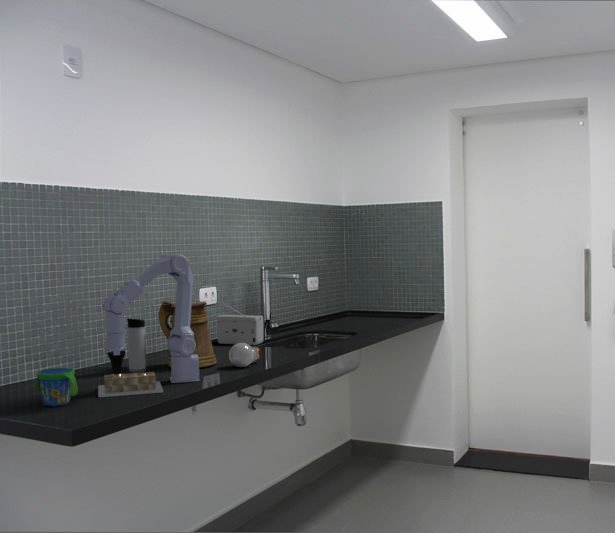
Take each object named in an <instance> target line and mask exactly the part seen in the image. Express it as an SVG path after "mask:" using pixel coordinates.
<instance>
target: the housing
mask: <svg viewBox="0 0 615 533" xmlns="http://www.w3.org/2000/svg"><path fill="white" fill-rule="evenodd" d="M141 373H146V374H147V375H141V376H138V374H141ZM121 375H122V377H113V374H104V376H103V378H104V379H103V380H104V383H103V385H105V392H106V391H119V390H132V389H145V388H156V377H157V376H156V374H155V371H147V372H146V371H144V372H139V373H132V372H129V373H121Z"/></svg>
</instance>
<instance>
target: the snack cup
mask: <svg viewBox="0 0 615 533" xmlns="http://www.w3.org/2000/svg"><path fill="white" fill-rule="evenodd" d="M75 372H76V371H75V369H73V368H70V367H56V368H55V367H54V368H53V367H52V368H45V369H41V370H40V371H37V374H36V376H37V377H36V381H35V390H36V391H37V392H41V397H42V402H43V403H42V404H43V405H44V406H48V407H62V406H63V407H64V406H67V405H68V404H69V403H70V401H71V397H74V396H76V395H77V394H78V391H79V387H78V384H77V379H76V377H75V375H76V374H75Z"/></svg>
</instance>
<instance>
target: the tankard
mask: <svg viewBox="0 0 615 533" xmlns="http://www.w3.org/2000/svg"><path fill="white" fill-rule="evenodd" d="M207 305H208V304H207V302H206V301H194V302H193V301H192V305H191V320H190V328H191V330H192V331H193V333H194V340H195V343H196V347H195V350H194V352H193V355H194V354H197V355H198V359H199V368H204V367H209V366H213V365H216V363H217V357H216V354H215V353H214V347H213V344H212V338H211V334H210V328H209V322H208V321H209V315H208V314H209V313H208V312H207V310H206V307H205V306H207ZM175 307H176V302H172V301H166V300H162V302H161V304H160V307H159V310H158V323H159V326H160V328H161V330H162V333H163V334H164V336H165V338H166V339H167V341H168V339H169V337H170V331H171V330H172V329H173V328H174V322H175ZM169 318H170V321H169ZM169 323H170V324H171V326H170V324H169ZM167 365H168V367H170V368H171V351H169V354H168V355H167Z"/></svg>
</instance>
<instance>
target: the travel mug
mask: <svg viewBox="0 0 615 533" xmlns="http://www.w3.org/2000/svg"><path fill="white" fill-rule="evenodd" d="M126 321H127V347H128V348H127V349H128V372H129V373H142V372H146V371H147V354H146V352H147V349H146V321H145V319H138V318H137V319H136V318H127V319H126Z"/></svg>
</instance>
